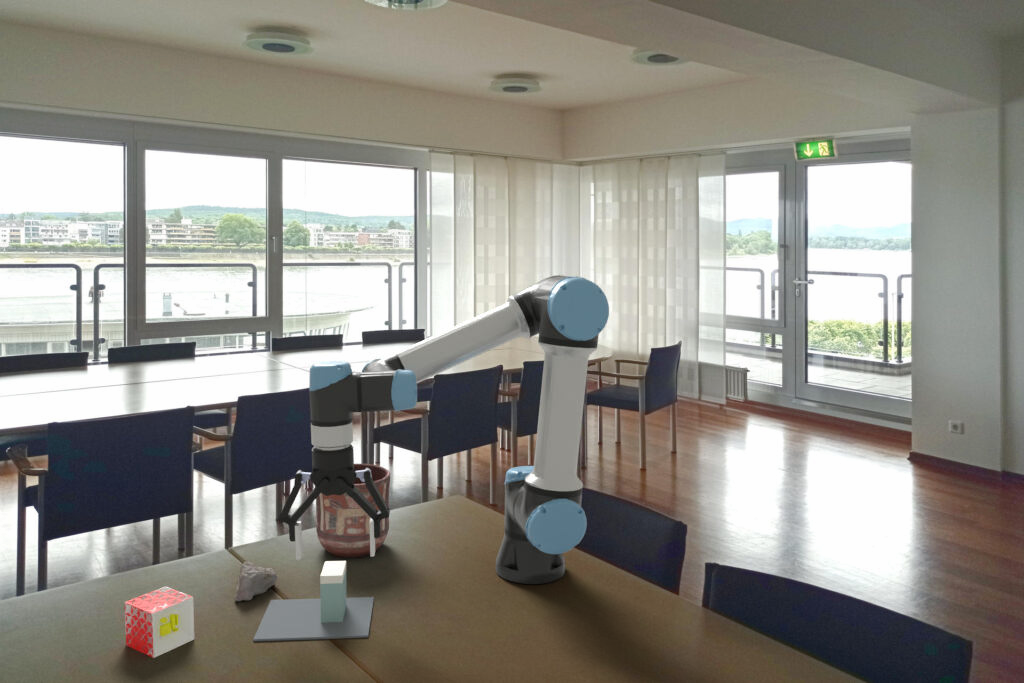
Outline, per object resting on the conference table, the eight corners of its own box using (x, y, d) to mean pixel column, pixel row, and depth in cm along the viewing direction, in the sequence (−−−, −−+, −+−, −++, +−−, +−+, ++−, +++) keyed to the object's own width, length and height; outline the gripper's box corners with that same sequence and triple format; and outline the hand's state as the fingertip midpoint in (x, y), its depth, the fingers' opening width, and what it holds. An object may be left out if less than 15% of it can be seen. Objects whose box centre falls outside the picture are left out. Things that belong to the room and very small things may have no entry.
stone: (267, 603, 155) (267, 574, 154) (225, 603, 155) (225, 574, 154) (280, 582, 165) (279, 555, 164) (241, 582, 164) (240, 555, 164)
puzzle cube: (153, 658, 133) (152, 613, 132) (126, 645, 137) (124, 602, 137) (194, 639, 140) (193, 596, 139) (167, 627, 144) (166, 586, 143)
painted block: (346, 605, 153) (346, 560, 152) (342, 622, 147) (342, 575, 146) (325, 606, 153) (325, 561, 152) (320, 622, 146) (320, 575, 145)
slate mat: (373, 598, 157) (373, 596, 157) (368, 637, 142) (368, 635, 142) (270, 601, 155) (270, 599, 155) (253, 641, 139) (253, 639, 139)
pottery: (299, 546, 185) (299, 471, 183) (364, 529, 197) (364, 459, 194) (338, 570, 172) (338, 489, 170) (405, 550, 184) (406, 475, 182)
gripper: (401, 438, 151) (403, 545, 154) (267, 442, 149) (272, 551, 151) (399, 447, 144) (402, 560, 146) (259, 452, 141) (264, 566, 144)
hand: (336, 555), depth 149 cm, fingers open, 13 cm apart
